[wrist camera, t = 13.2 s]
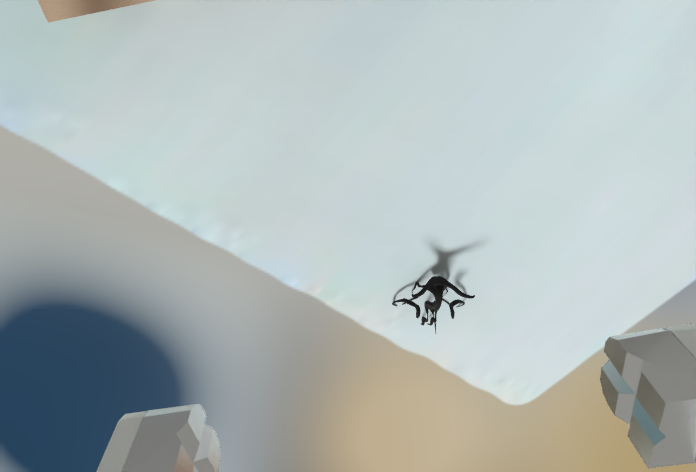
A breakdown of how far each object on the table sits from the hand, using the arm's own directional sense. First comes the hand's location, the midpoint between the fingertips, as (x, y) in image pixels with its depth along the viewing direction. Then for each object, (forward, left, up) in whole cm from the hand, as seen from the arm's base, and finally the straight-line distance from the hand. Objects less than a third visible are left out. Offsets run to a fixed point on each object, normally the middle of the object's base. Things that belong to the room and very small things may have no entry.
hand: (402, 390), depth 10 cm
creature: (-17, +20, -33) cm, 42 cm away
